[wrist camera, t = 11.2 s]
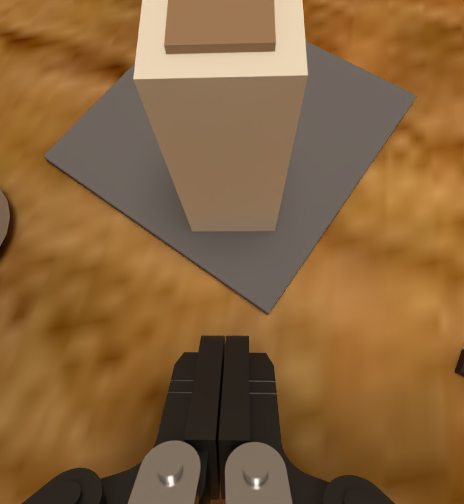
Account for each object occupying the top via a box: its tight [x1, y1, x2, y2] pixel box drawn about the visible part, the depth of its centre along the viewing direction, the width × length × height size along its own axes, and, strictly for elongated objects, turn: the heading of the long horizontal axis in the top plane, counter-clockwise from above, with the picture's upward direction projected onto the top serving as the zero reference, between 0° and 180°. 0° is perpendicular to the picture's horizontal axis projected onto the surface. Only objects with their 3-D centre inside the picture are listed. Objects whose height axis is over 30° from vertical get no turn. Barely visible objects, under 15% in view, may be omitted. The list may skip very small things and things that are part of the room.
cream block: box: [133, 0, 308, 232], centre depth 17 cm, size 5×5×12 cm
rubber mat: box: [43, 41, 417, 315], centre depth 24 cm, size 18×18×1 cm
